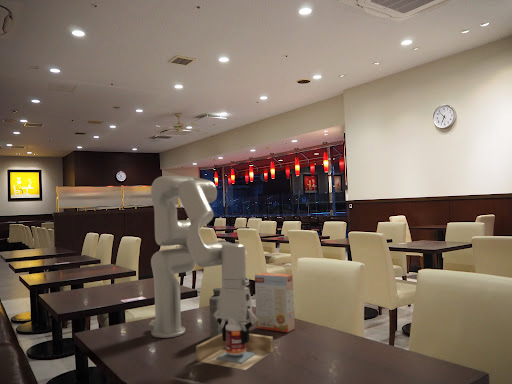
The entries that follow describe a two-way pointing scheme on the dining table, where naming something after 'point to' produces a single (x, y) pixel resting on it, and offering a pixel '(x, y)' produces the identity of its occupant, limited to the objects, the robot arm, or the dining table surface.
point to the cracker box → (274, 302)
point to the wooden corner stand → (218, 347)
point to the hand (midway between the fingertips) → (235, 340)
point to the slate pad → (236, 357)
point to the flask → (214, 306)
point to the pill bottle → (234, 338)
